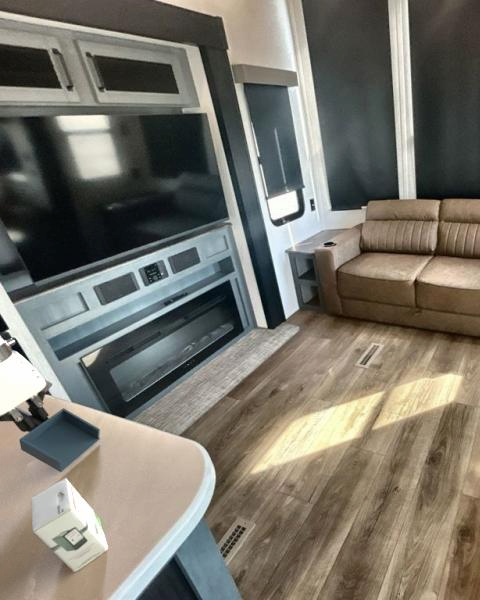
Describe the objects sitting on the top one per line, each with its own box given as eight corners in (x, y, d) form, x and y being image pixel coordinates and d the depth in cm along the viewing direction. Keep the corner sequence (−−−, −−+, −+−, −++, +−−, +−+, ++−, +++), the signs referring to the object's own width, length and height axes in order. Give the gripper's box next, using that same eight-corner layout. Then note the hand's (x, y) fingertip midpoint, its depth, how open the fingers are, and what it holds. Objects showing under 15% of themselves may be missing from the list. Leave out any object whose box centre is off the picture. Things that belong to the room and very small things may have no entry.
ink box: (67, 538, 64) (28, 496, 59) (101, 516, 67) (66, 475, 62) (73, 574, 59) (30, 532, 53) (109, 549, 61) (72, 507, 56)
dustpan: (-9, 432, 76) (-12, 421, 74) (37, 402, 84) (35, 391, 81) (60, 472, 77) (60, 462, 75) (100, 439, 84) (100, 429, 82)
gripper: (17, 334, 78) (62, 399, 87) (-84, 384, 65) (-18, 454, 73) (41, 336, 76) (85, 401, 85) (-57, 387, 63) (7, 459, 71)
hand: (37, 425), depth 79 cm, fingers closed on dustpan, 2 cm apart
